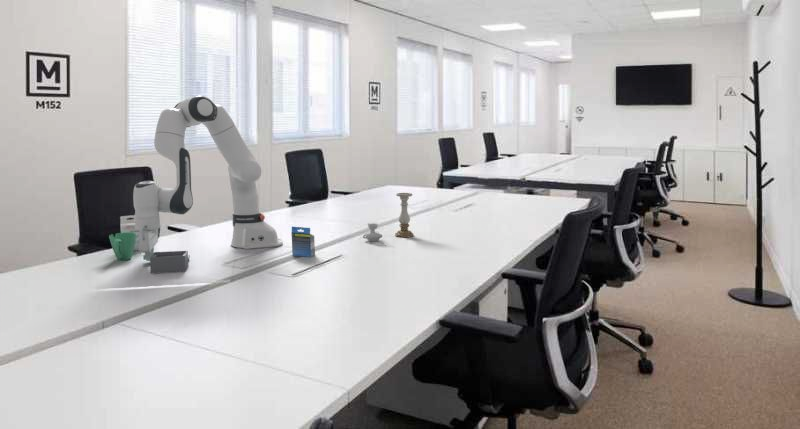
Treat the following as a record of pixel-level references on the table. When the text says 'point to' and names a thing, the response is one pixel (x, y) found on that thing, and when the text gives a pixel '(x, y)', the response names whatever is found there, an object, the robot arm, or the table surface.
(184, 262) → the tub
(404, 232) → the candle holder
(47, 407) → the table surface
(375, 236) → the grey oil lamp
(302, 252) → the label tape box
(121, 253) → the mug
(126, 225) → the ink box
